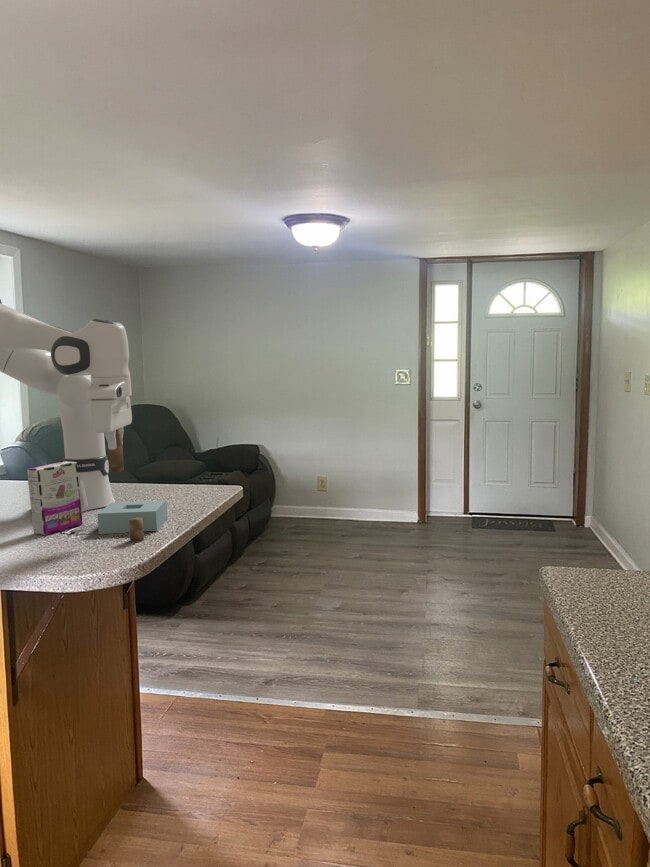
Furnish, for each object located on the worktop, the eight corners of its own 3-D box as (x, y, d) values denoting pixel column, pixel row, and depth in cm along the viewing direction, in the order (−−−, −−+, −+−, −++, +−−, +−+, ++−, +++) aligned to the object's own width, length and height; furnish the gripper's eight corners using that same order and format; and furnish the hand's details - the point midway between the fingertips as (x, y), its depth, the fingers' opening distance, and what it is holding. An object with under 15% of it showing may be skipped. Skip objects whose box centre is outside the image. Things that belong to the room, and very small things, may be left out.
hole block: (98, 533, 158) (97, 513, 157) (113, 521, 170) (111, 502, 169) (157, 531, 158) (155, 511, 158) (167, 519, 170) (166, 500, 170)
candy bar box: (70, 523, 170) (65, 460, 168) (83, 525, 167) (78, 461, 165) (31, 533, 160) (25, 467, 158) (44, 536, 158) (38, 469, 156)
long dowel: (109, 472, 154) (105, 421, 152) (112, 470, 157) (109, 420, 155) (122, 472, 154) (118, 421, 152) (125, 469, 157) (122, 420, 155)
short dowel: (129, 542, 150) (127, 520, 149) (132, 538, 153) (131, 517, 152) (142, 541, 150) (140, 520, 149) (145, 538, 153) (143, 517, 152)
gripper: (110, 387, 163) (114, 442, 165) (83, 392, 143) (88, 454, 145) (136, 386, 163) (139, 441, 165) (113, 391, 143) (117, 453, 145)
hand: (115, 447), depth 155 cm, fingers closed on long dowel, 3 cm apart
